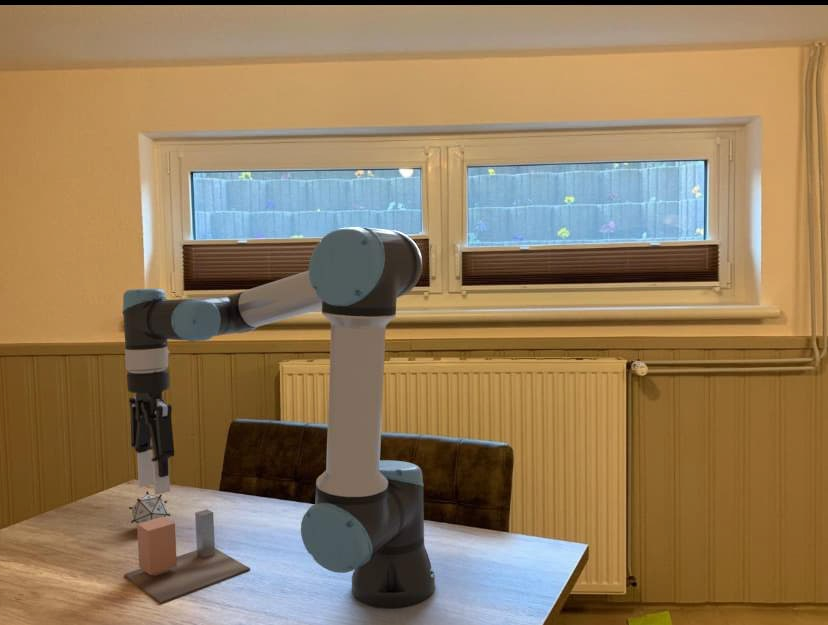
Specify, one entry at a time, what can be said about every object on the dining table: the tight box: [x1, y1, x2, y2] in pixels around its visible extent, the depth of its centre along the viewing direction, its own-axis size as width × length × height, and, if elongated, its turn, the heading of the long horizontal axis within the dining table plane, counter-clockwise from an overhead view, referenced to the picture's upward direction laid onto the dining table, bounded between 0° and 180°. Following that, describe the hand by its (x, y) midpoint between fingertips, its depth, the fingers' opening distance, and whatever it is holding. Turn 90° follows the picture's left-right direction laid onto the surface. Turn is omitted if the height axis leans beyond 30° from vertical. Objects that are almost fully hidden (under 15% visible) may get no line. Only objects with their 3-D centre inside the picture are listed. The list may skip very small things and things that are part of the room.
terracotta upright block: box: [136, 517, 178, 575], centre depth 131 cm, size 5×5×9 cm
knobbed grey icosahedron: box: [128, 490, 171, 525], centre depth 155 cm, size 9×8×10 cm
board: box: [123, 547, 251, 605], centre depth 131 cm, size 16×18×1 cm
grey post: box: [194, 509, 216, 559], centre depth 138 cm, size 3×3×9 cm
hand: (154, 488), depth 130 cm, fingers open, 6 cm apart
